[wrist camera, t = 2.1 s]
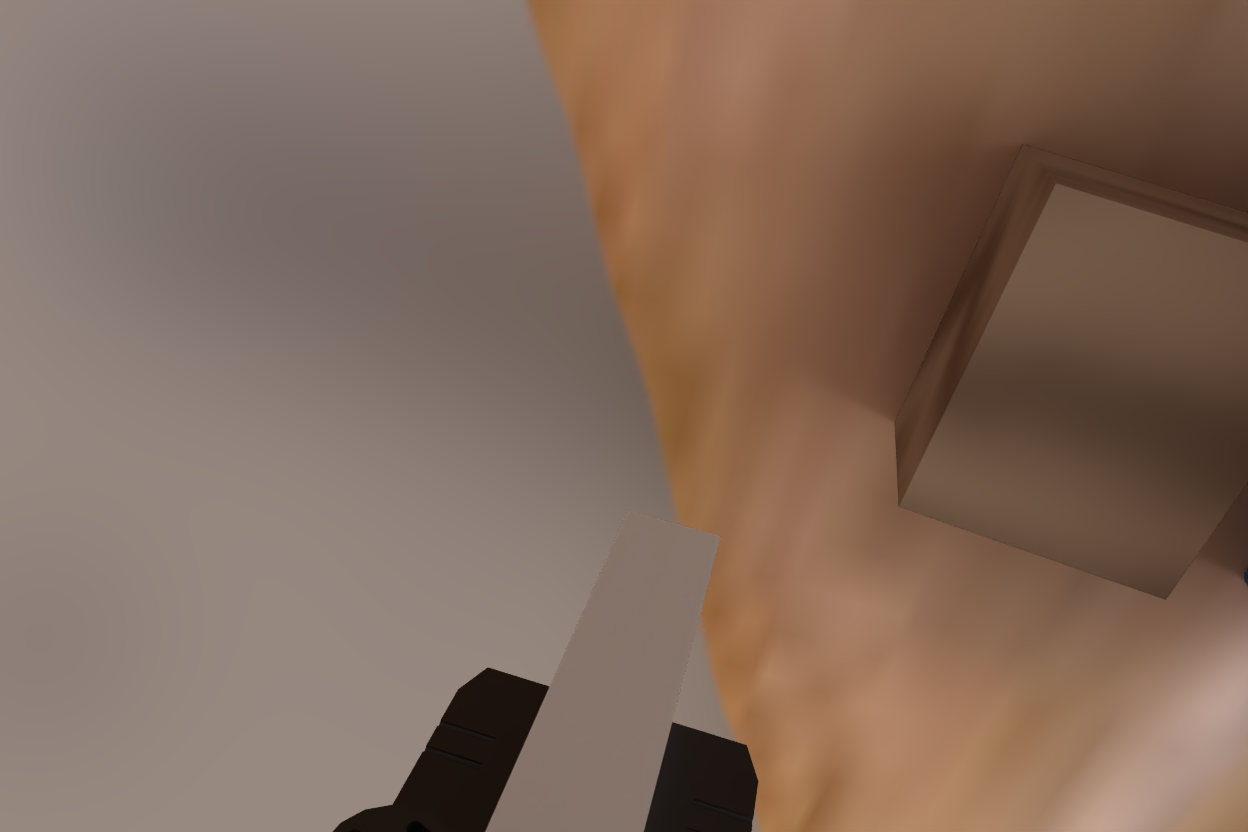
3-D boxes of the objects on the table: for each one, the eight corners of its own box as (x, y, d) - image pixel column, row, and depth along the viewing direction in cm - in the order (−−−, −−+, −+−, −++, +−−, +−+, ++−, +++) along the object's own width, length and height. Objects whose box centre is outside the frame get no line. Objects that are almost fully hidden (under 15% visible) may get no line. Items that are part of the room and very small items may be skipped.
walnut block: (1021, 143, 28) (1055, 183, 23) (1287, 223, 27) (1385, 285, 22) (894, 420, 33) (898, 506, 28) (1117, 496, 32) (1165, 599, 27)
